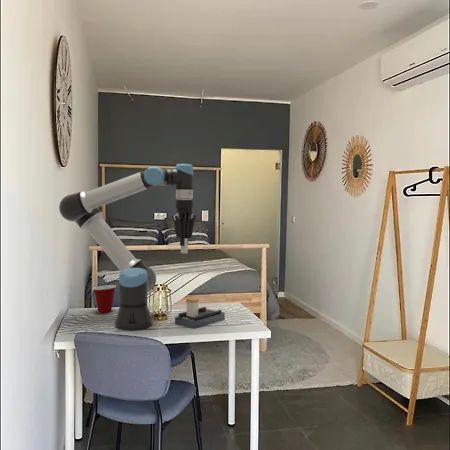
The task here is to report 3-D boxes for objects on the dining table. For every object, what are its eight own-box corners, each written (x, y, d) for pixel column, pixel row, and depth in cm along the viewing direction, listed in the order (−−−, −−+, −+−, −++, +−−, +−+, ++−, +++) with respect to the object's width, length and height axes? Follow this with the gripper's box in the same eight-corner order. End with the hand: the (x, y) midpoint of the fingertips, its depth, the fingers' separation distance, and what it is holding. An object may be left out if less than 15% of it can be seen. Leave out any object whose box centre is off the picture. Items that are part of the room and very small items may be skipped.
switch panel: (193, 328, 204) (193, 318, 204) (174, 324, 211) (174, 313, 211) (224, 319, 219) (224, 309, 219) (206, 315, 226) (206, 305, 226)
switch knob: (193, 317, 209) (193, 300, 208) (186, 315, 211) (186, 298, 211) (198, 316, 211) (198, 299, 211) (191, 314, 214) (191, 297, 213)
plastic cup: (103, 308, 239) (102, 283, 238) (121, 310, 234) (120, 285, 234) (87, 312, 229) (87, 287, 229) (106, 315, 225) (105, 289, 224)
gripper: (180, 199, 209) (179, 255, 211) (200, 199, 219) (200, 252, 221) (167, 199, 214) (167, 253, 216) (188, 199, 224) (188, 251, 226)
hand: (184, 253), depth 218 cm, fingers closed
